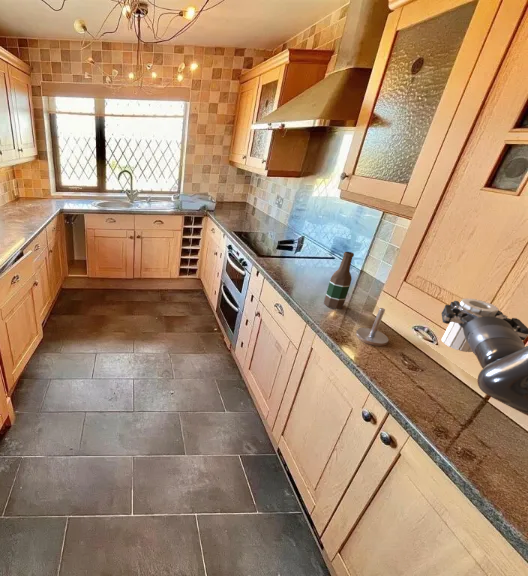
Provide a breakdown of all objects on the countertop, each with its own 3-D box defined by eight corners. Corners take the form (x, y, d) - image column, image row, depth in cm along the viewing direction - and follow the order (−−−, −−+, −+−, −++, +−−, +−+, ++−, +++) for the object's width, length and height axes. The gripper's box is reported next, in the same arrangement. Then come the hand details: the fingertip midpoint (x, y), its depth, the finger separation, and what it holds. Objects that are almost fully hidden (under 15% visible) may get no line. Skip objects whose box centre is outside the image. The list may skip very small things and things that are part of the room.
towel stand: (383, 333, 113) (395, 305, 108) (390, 348, 106) (403, 318, 100) (353, 328, 117) (363, 300, 111) (357, 342, 109) (368, 313, 104)
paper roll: (467, 340, 82) (489, 301, 76) (479, 354, 77) (504, 313, 71) (437, 335, 84) (457, 296, 79) (447, 348, 79) (468, 308, 73)
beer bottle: (336, 311, 128) (353, 257, 117) (319, 303, 134) (333, 251, 123) (347, 306, 131) (364, 253, 121) (330, 298, 138) (345, 248, 127)
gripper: (554, 337, 60) (522, 301, 72) (455, 316, 67) (442, 287, 79) (533, 367, 63) (505, 328, 76) (441, 344, 70) (430, 312, 83)
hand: (473, 307), depth 78 cm, fingers closed on paper roll, 6 cm apart
